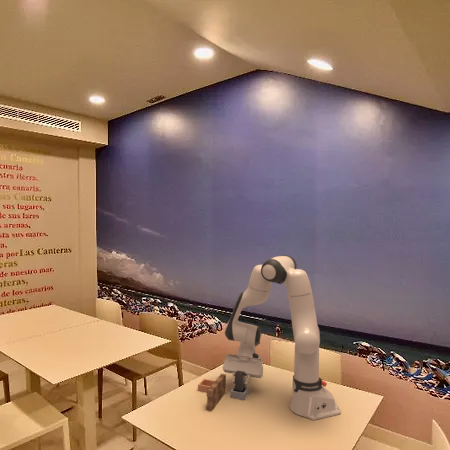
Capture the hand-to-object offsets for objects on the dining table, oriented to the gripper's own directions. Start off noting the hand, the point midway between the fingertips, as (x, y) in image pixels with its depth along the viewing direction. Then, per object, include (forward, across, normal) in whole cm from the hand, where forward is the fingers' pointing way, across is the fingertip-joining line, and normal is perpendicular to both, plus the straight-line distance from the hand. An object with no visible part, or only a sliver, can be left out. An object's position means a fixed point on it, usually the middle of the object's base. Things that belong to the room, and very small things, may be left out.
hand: (239, 383), depth 170 cm
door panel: (+10, -8, -2) cm, 13 cm away
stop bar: (+4, 0, +5) cm, 6 cm away
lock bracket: (+4, -17, +5) cm, 18 cm away
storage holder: (+4, 0, +5) cm, 6 cm away
